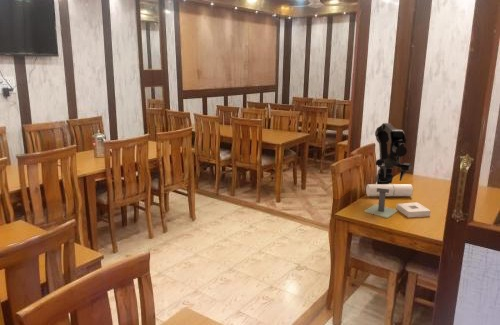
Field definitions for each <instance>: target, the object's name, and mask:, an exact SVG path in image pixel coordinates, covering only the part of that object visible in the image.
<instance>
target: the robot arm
mask: <svg viewBox="0 0 500 325" xmlns="http://www.w3.org/2000/svg"><path fill="white" fill-rule="evenodd" d="M374 136H375V139H376V140H375V141H376V142H377V143H378V144H379V145H378V146H379V147H378V148H379V159H377V160H375V166H377V167H378V168H379V169H378V170H377V174H376V176H375V177H374V180H375V183H376V184H393V178H394V175H393V172H392V171H393V168H394V167H396V168H400V174H399V181H400V182H401V181H402V180H403V178H404V176H405V174H406V173H407V172H408V171H411V170H412V169H413V164H412V163H408V162H404V163H401V158H402V157H404V156H405V155H406V154H407V152H408V151H407V150H408V149H407V148H406V146H404V145H405V144H406V143H407V142H406V141H407V138H406V134H405V132H404V130H403V129H398V128H396V127H395V126H393V125H392V123H391V122H384V123H382V124H381V125H379V126H378V127H376V129H375V132H374ZM388 142H389V149H388ZM388 150H389V151H388Z"/></svg>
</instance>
